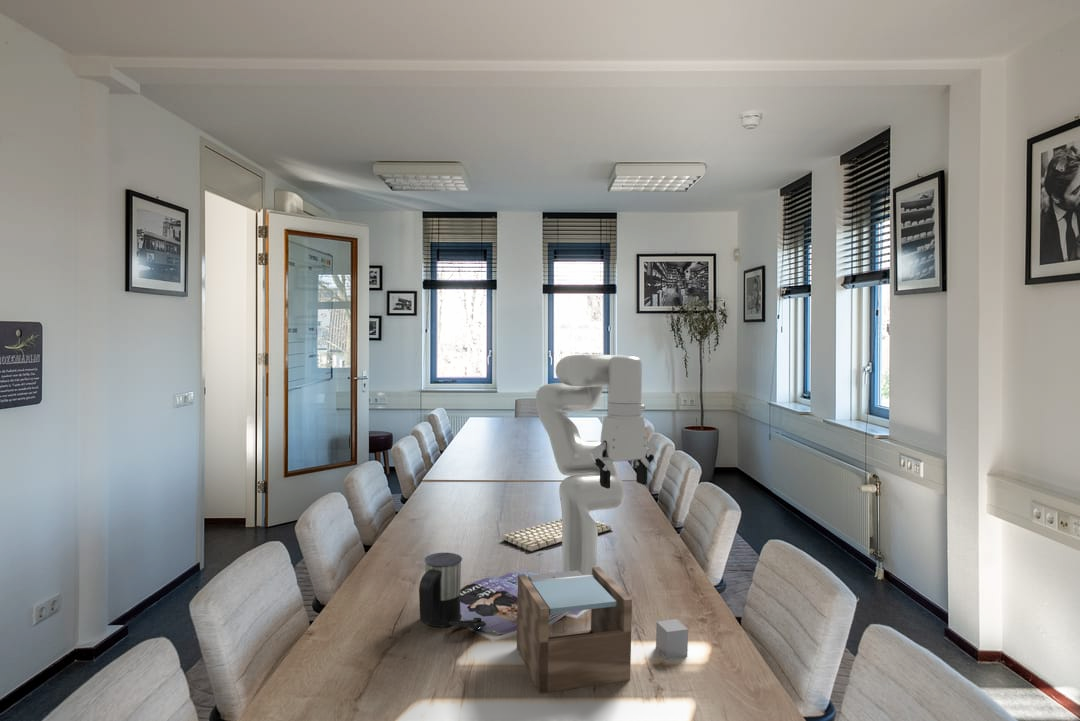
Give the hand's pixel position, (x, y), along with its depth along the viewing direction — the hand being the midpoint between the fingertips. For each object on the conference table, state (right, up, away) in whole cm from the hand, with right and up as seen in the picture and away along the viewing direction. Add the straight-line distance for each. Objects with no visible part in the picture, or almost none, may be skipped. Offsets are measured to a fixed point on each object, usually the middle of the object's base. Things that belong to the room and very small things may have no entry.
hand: (623, 485), depth 143 cm
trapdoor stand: (-13, -35, -11) cm, 39 cm away
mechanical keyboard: (-13, -33, +72) cm, 80 cm away
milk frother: (-39, -34, +6) cm, 53 cm away
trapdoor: (-13, -26, -8) cm, 30 cm away
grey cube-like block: (+10, -36, -5) cm, 37 cm away
